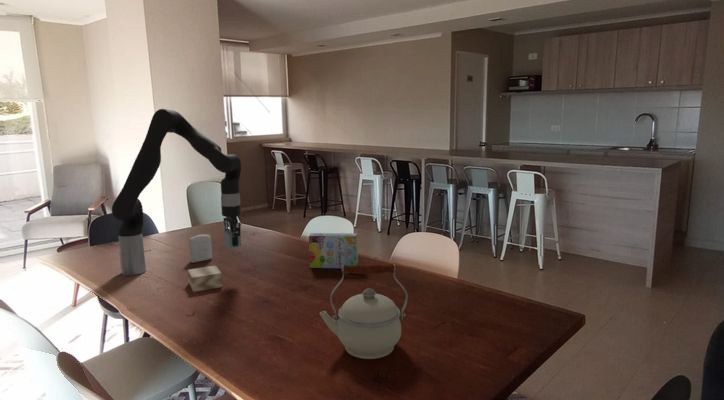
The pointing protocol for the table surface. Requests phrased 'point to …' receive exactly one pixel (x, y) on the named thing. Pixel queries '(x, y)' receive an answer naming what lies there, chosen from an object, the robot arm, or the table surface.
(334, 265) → the snack box
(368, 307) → the kettle
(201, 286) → the birch block
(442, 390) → the table surface
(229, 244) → the teal block
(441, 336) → the table surface
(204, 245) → the photo printer
